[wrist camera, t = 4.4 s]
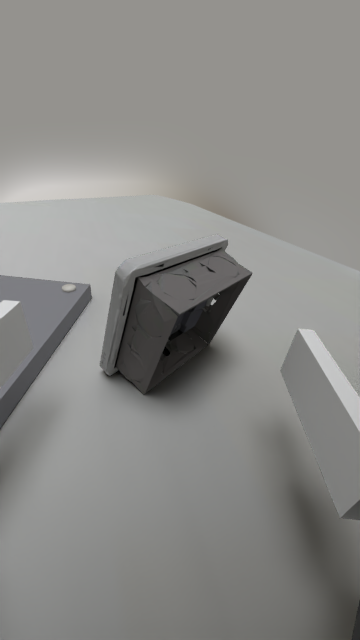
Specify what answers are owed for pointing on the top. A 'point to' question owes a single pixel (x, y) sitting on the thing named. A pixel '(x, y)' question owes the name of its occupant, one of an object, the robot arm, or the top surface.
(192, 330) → the electrical switch
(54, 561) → the top surface
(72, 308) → the mounting plate
